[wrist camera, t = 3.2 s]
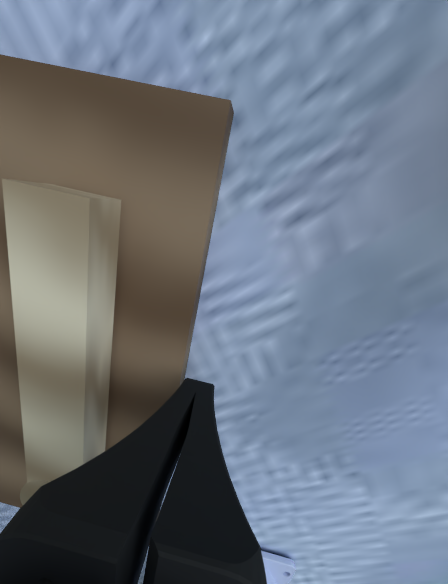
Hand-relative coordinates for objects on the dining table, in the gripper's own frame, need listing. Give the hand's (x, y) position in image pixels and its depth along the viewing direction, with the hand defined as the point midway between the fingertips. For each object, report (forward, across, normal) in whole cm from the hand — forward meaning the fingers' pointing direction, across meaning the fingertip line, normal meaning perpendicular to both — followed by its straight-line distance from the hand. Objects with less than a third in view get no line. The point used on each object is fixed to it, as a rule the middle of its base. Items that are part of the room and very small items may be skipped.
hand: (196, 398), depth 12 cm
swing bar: (0, +6, +1) cm, 6 cm away
